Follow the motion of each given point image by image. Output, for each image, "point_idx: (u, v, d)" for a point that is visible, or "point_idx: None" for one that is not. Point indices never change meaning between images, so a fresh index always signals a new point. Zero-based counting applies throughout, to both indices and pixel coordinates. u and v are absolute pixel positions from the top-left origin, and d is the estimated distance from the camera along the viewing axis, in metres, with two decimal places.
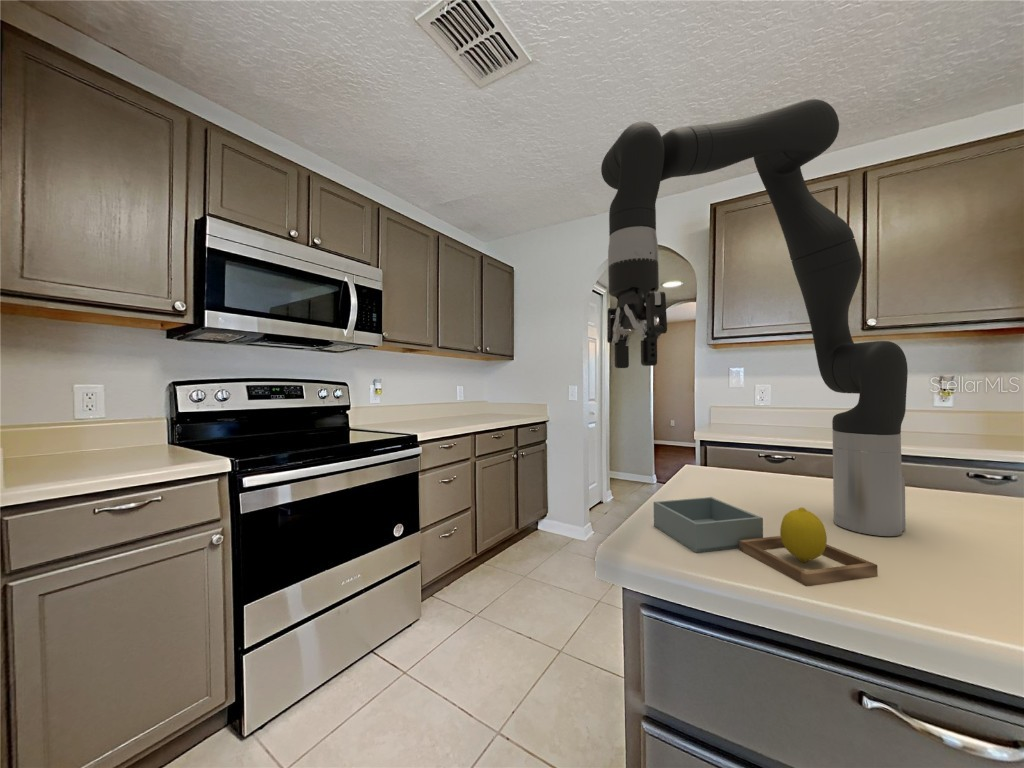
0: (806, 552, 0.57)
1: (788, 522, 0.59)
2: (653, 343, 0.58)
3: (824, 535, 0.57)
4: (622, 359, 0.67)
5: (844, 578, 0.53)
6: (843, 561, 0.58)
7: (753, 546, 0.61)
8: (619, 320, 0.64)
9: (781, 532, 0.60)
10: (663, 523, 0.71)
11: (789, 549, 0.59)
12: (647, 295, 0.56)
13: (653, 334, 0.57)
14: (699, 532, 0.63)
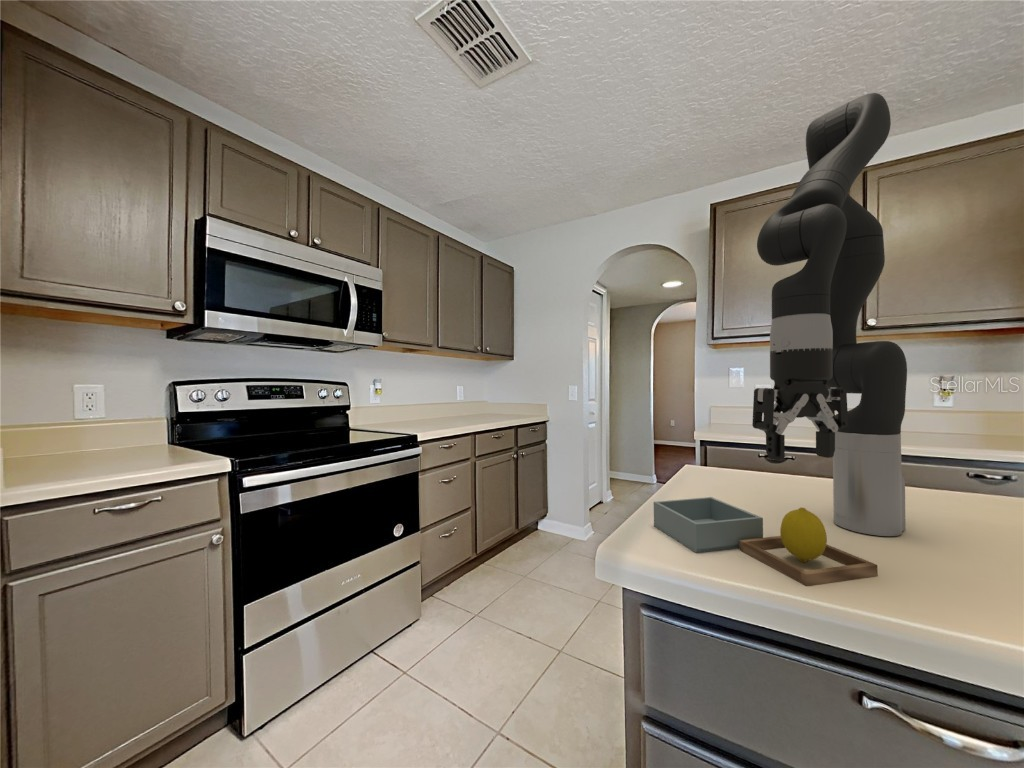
0: (806, 552, 0.57)
1: (789, 522, 0.59)
2: None
3: (824, 535, 0.57)
4: None
5: (844, 578, 0.53)
6: (843, 561, 0.58)
7: (753, 546, 0.61)
8: (800, 408, 0.57)
9: (781, 532, 0.60)
10: (663, 523, 0.71)
11: (789, 549, 0.59)
12: (844, 391, 0.59)
13: None
14: (699, 532, 0.63)
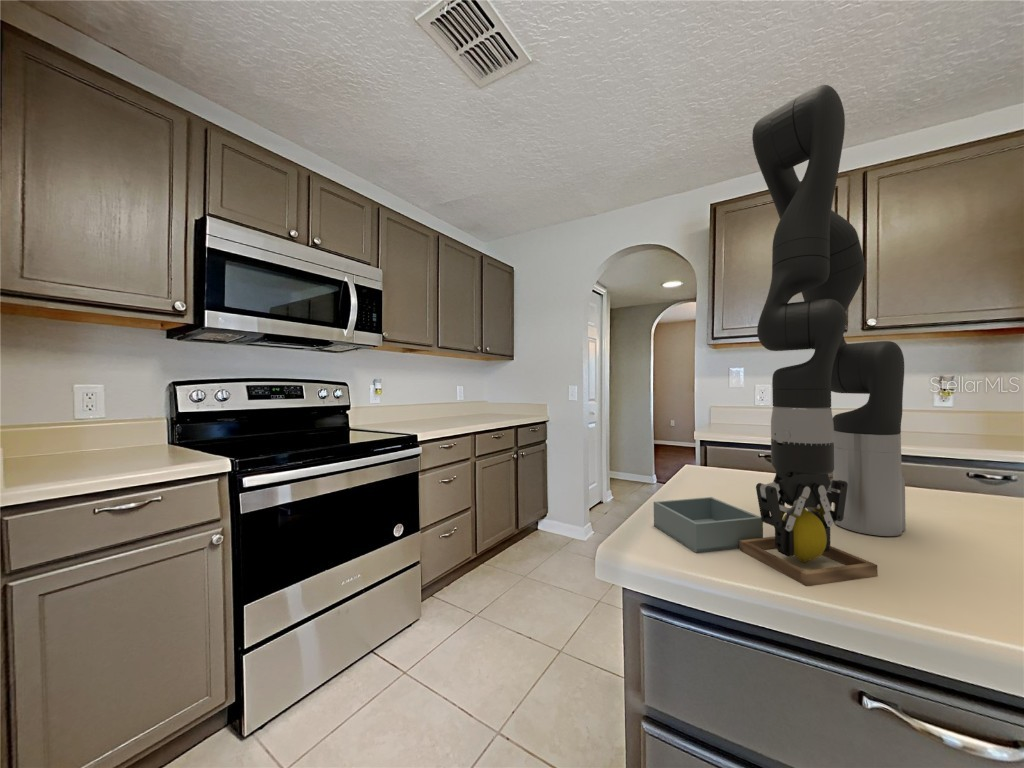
0: (806, 552, 0.57)
1: None
2: None
3: (824, 535, 0.57)
4: None
5: (844, 578, 0.53)
6: (843, 561, 0.58)
7: (753, 546, 0.61)
8: None
9: None
10: (663, 523, 0.71)
11: None
12: (845, 485, 0.59)
13: None
14: (699, 532, 0.63)
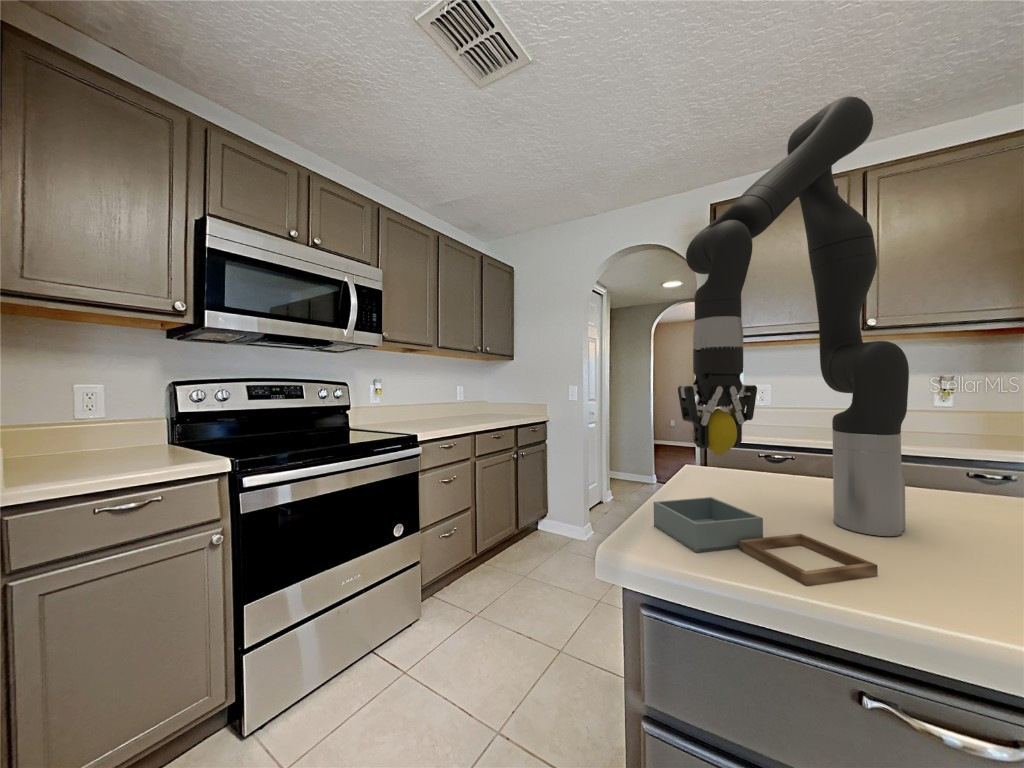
0: (719, 443, 0.65)
1: None
2: None
3: (734, 428, 0.65)
4: None
5: (844, 578, 0.53)
6: (843, 561, 0.58)
7: (753, 546, 0.61)
8: (717, 398, 0.66)
9: None
10: (663, 523, 0.71)
11: None
12: (755, 389, 0.68)
13: None
14: (699, 532, 0.63)
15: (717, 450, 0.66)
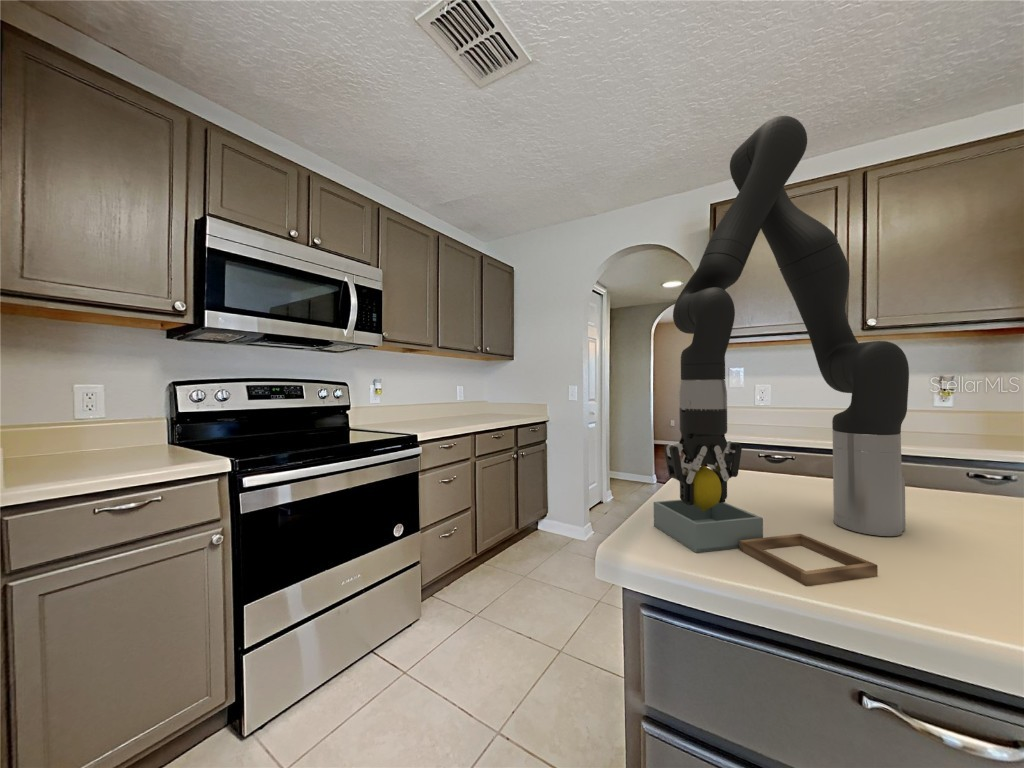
0: (703, 501, 0.68)
1: None
2: None
3: (718, 487, 0.68)
4: None
5: (844, 578, 0.53)
6: (843, 561, 0.58)
7: (753, 546, 0.61)
8: None
9: None
10: (663, 523, 0.71)
11: None
12: (740, 446, 0.70)
13: None
14: (699, 532, 0.63)
15: (702, 507, 0.69)
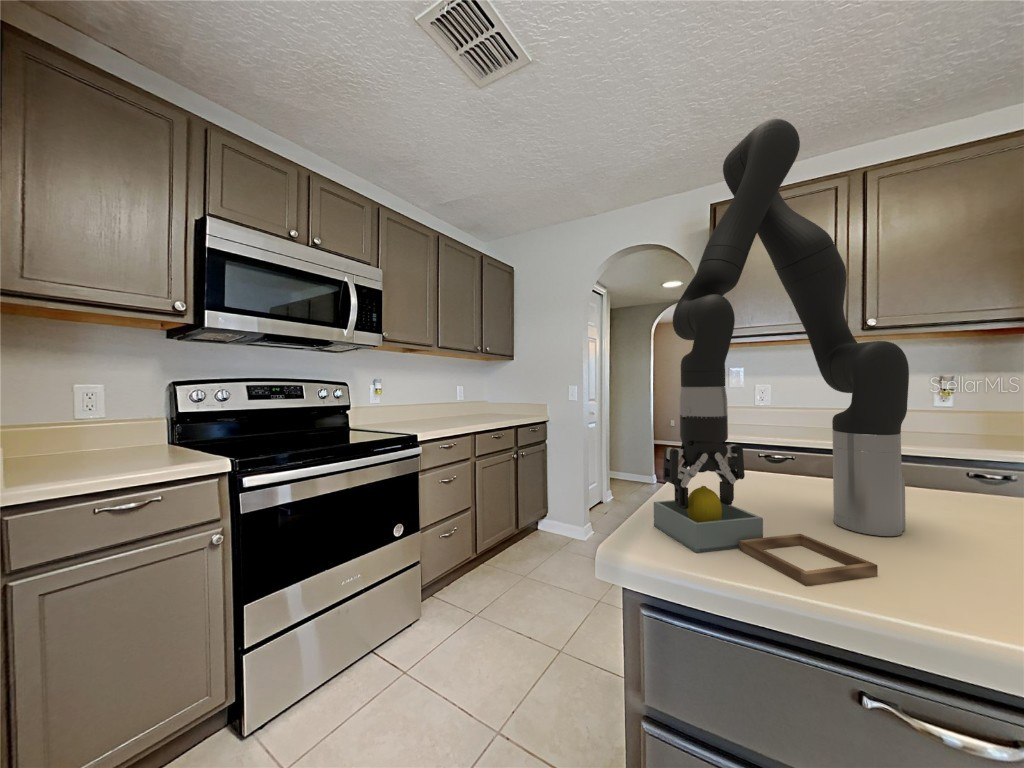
0: None
1: (691, 498, 0.69)
2: None
3: (719, 508, 0.67)
4: None
5: (844, 578, 0.53)
6: (843, 561, 0.58)
7: (753, 546, 0.61)
8: (701, 465, 0.68)
9: None
10: (663, 523, 0.71)
11: None
12: (740, 448, 0.70)
13: None
14: (699, 532, 0.63)
15: None
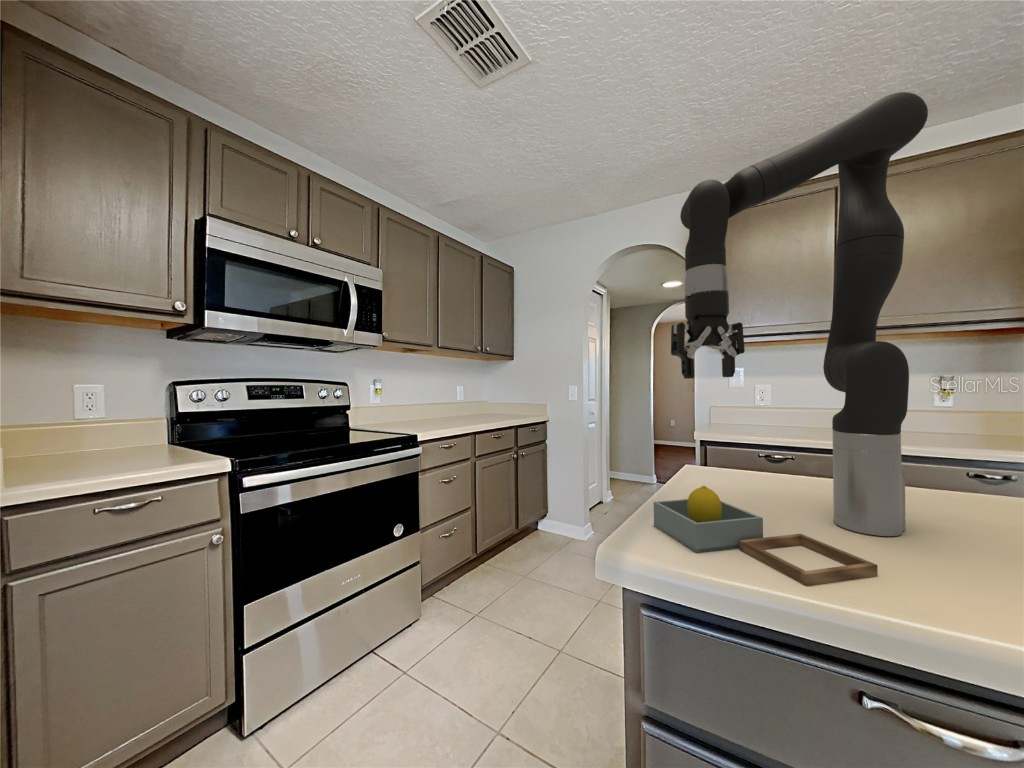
0: None
1: (692, 498, 0.69)
2: None
3: (719, 508, 0.67)
4: None
5: (844, 578, 0.53)
6: (843, 561, 0.58)
7: (753, 546, 0.61)
8: None
9: (687, 507, 0.71)
10: (663, 523, 0.71)
11: None
12: (740, 325, 0.77)
13: None
14: (699, 532, 0.63)
15: None
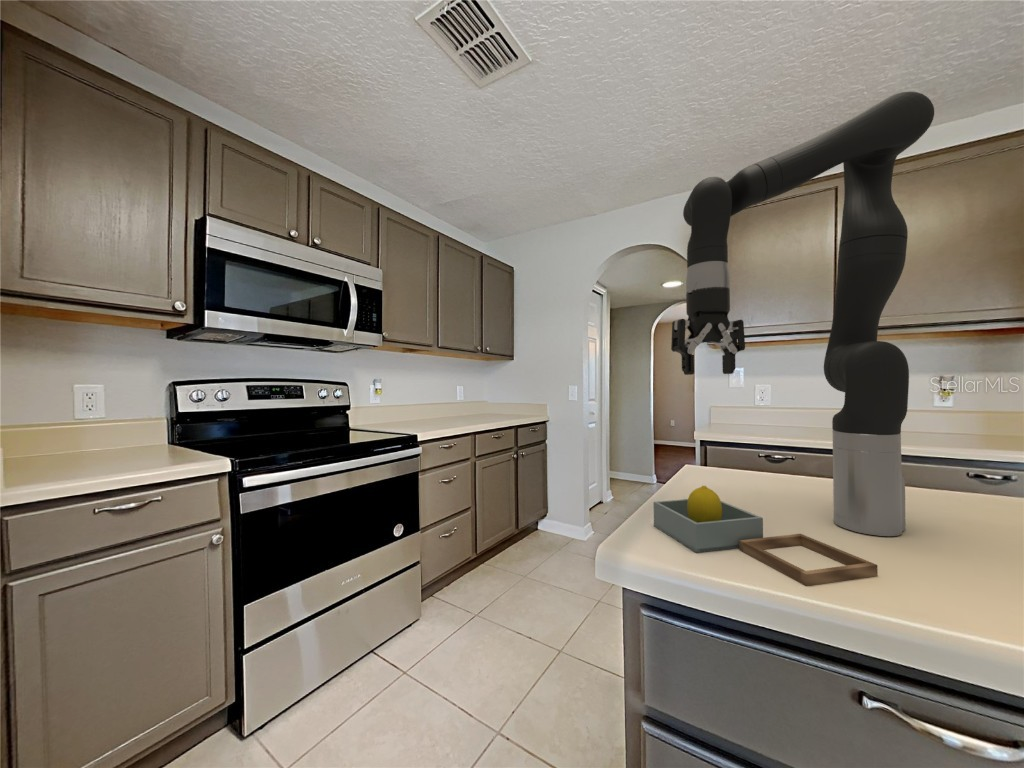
0: None
1: (692, 497, 0.69)
2: None
3: (719, 508, 0.68)
4: None
5: (844, 578, 0.53)
6: (843, 561, 0.58)
7: (753, 546, 0.61)
8: (705, 334, 0.75)
9: (687, 506, 0.71)
10: (663, 523, 0.71)
11: None
12: (741, 322, 0.77)
13: None
14: (699, 532, 0.63)
15: None
